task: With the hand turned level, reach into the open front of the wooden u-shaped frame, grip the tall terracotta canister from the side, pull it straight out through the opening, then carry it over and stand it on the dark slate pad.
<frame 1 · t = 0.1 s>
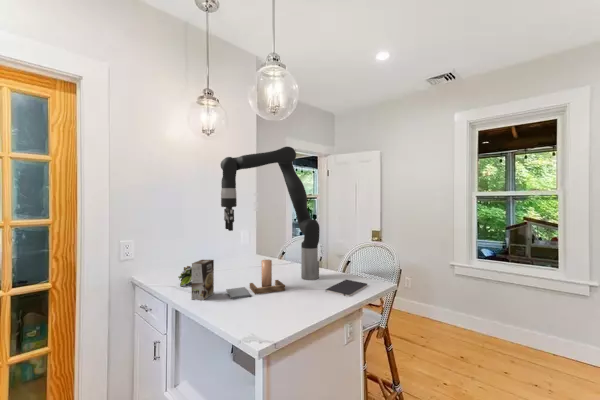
hand: (229, 229, 144), 29 cm above the worktop, tool pointing down, fingers open, 8 cm apart
wooden u-shaped frame: (266, 288, 143), on the worktop
notebook: (347, 289, 143), on the worktop
slate pad: (238, 293, 135), on the worktop
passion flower: (190, 284, 151), on the worktop
coffee box: (203, 296, 131), on the worktop
canister: (266, 274, 143), in the wooden u-shaped frame
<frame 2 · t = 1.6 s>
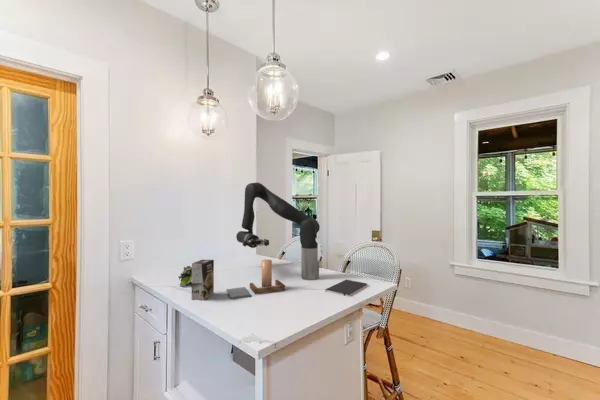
hand: (259, 244, 154), 20 cm above the worktop, tool horizontal, fingers open, 8 cm apart
nothing on the worktop moved.
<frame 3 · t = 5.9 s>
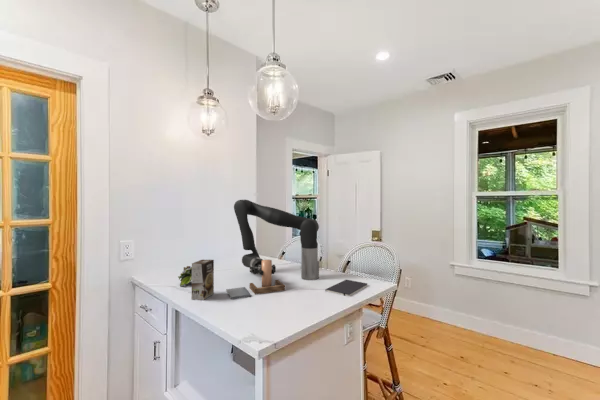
hand: (268, 272, 141), 9 cm above the worktop, tool horizontal, fingers closed on canister, 5 cm apart
canister: (266, 274, 143), in the wooden u-shaped frame, touching gripper
everything else where it was.
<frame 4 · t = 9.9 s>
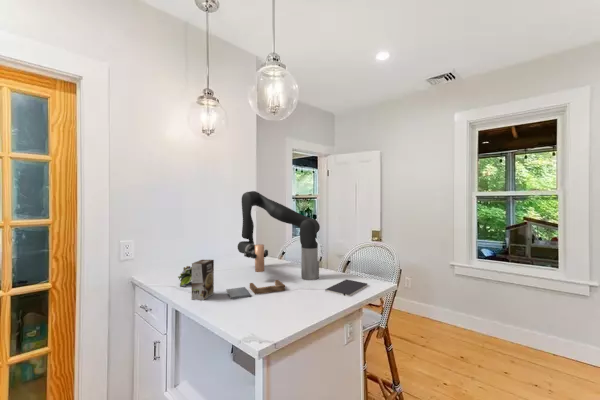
hand: (260, 255, 153), 14 cm above the worktop, tool horizontal, fingers closed on canister, 5 cm apart
canister: (259, 258, 155), point 13 cm above the worktop, touching gripper
everything else where it was.
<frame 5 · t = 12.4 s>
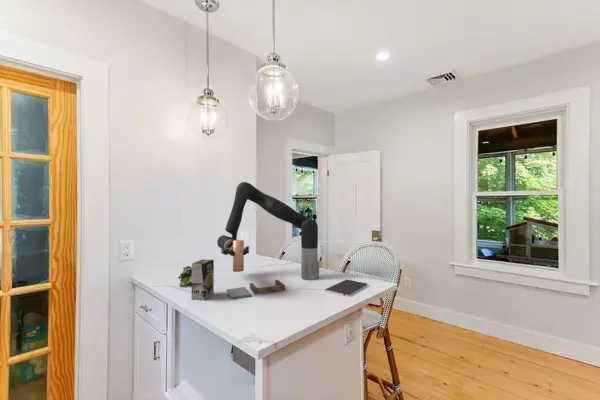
hand: (239, 253, 132), 20 cm above the worktop, tool horizontal, fingers closed on canister, 5 cm apart
canister: (238, 255, 134), point 18 cm above the worktop, touching gripper
everything else where it was.
when the fingers open (11 cm above the worktop, at t = 14.4 s): canister drops 1 cm, resting on slate pad.
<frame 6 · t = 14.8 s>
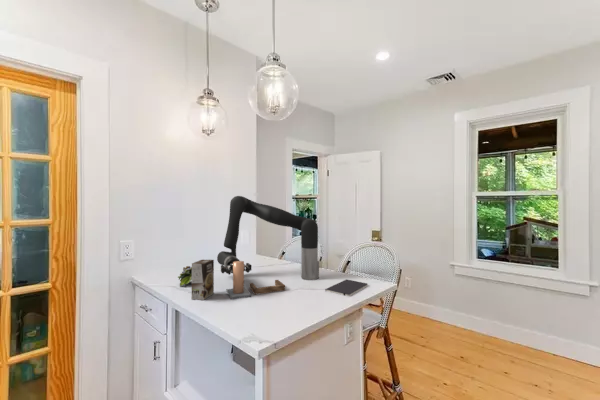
hand: (239, 271, 133), 11 cm above the worktop, tool horizontal, fingers open, 8 cm apart
canister: (238, 276, 135), on the slate pad, point 8 cm above the worktop
everything else where it was.
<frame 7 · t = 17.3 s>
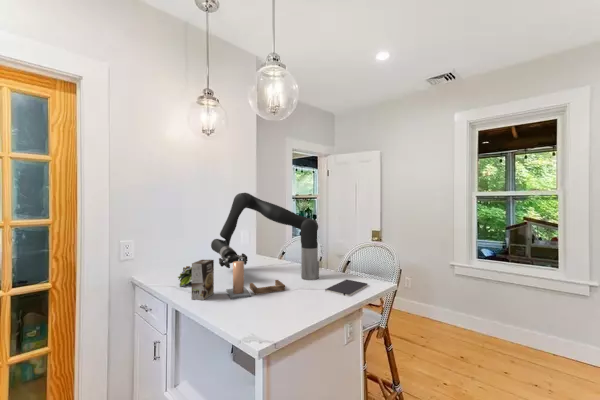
hand: (237, 264, 146), 11 cm above the worktop, tool horizontal, fingers open, 8 cm apart
nothing on the worktop moved.
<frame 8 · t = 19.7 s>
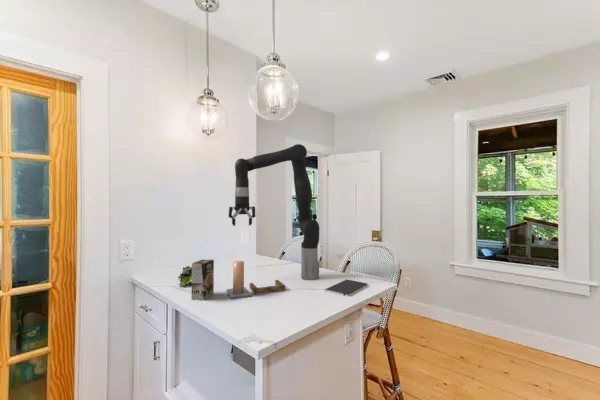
hand: (242, 225, 157), 30 cm above the worktop, tool pointing down, fingers open, 8 cm apart
nothing on the worktop moved.
at the end: canister inside the target area on the slate pad (0.4 cm from its centre), point 8.0 cm above the slate pad's base; canister tilted 0°; the gripper is holding nothing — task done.
